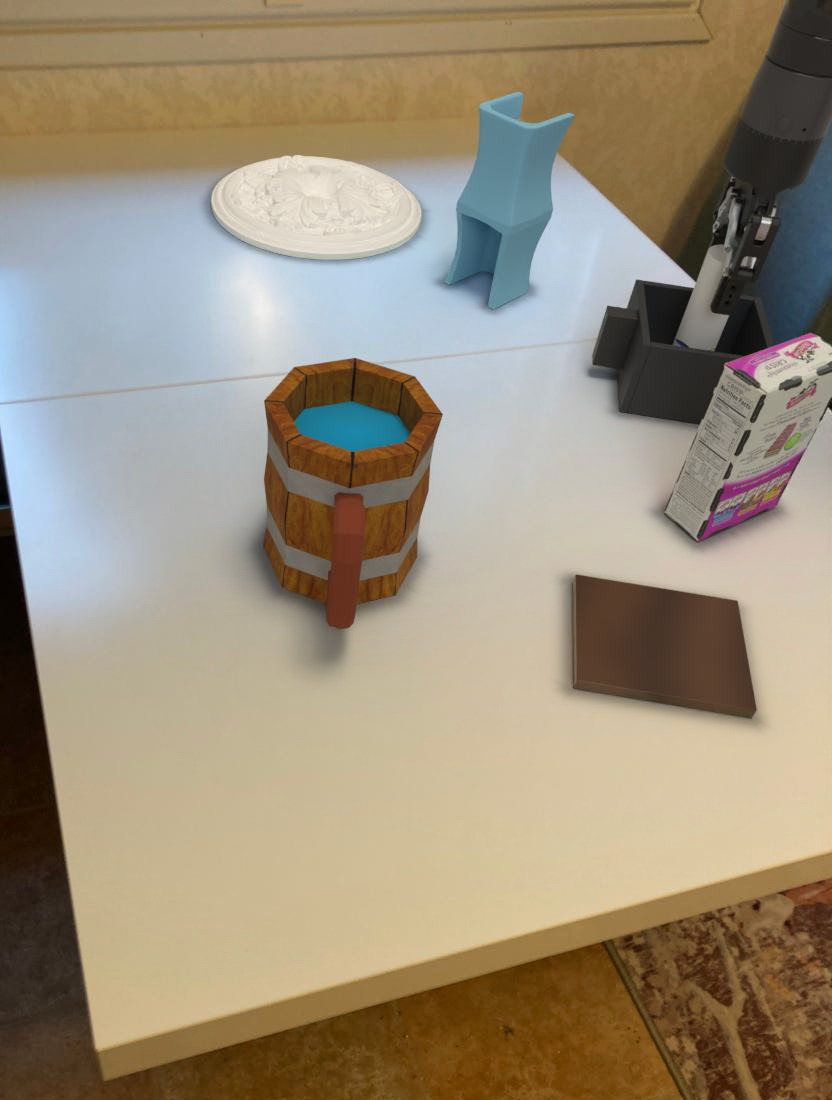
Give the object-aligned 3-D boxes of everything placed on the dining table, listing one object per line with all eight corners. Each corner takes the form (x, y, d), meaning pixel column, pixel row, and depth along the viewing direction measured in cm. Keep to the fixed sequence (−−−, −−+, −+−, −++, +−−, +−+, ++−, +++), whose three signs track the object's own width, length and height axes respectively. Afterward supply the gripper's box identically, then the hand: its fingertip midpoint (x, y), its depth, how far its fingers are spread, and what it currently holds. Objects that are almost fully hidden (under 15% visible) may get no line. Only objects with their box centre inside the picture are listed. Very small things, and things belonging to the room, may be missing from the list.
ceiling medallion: (273, 148, 136) (274, 124, 134) (450, 197, 130) (454, 174, 128) (170, 220, 119) (168, 195, 116) (369, 281, 113) (371, 256, 110)
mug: (268, 496, 85) (270, 350, 74) (414, 506, 86) (438, 364, 75) (249, 660, 72) (248, 515, 61) (421, 671, 73) (452, 529, 62)
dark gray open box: (732, 362, 107) (760, 297, 101) (747, 431, 98) (780, 365, 92) (587, 340, 108) (607, 274, 102) (589, 407, 99) (611, 339, 93)
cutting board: (733, 608, 80) (738, 600, 80) (752, 718, 72) (757, 710, 72) (572, 582, 81) (575, 574, 80) (573, 688, 73) (576, 680, 72)
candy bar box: (738, 478, 93) (812, 329, 80) (776, 508, 90) (859, 358, 78) (658, 512, 88) (723, 359, 76) (696, 544, 86) (770, 391, 73)
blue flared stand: (533, 289, 115) (575, 114, 100) (493, 309, 111) (530, 130, 96) (485, 264, 118) (518, 91, 103) (444, 282, 114) (473, 105, 99)
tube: (697, 379, 104) (750, 249, 93) (698, 400, 101) (753, 268, 90) (659, 371, 104) (707, 241, 93) (658, 392, 102) (708, 260, 90)
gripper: (842, 157, 77) (762, 333, 90) (812, 97, 87) (743, 264, 99) (752, 144, 78) (684, 322, 90) (732, 86, 87) (673, 253, 99)
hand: (715, 291), depth 94 cm, fingers open, 8 cm apart
